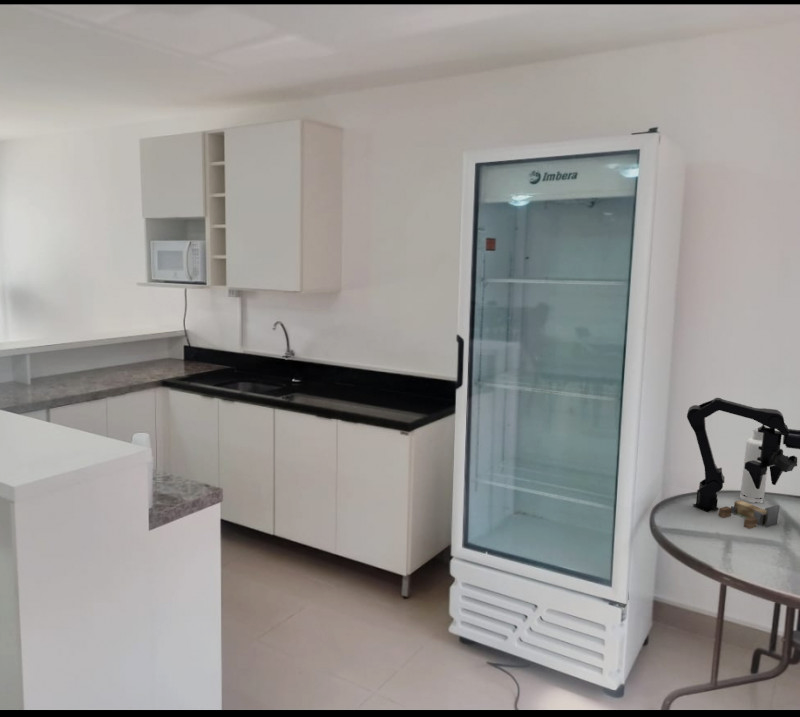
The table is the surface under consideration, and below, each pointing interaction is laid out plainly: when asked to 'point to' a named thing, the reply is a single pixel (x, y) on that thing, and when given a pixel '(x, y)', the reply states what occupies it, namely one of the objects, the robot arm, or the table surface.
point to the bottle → (747, 482)
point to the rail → (748, 509)
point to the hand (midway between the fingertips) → (765, 486)
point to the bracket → (762, 515)
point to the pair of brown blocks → (748, 522)
